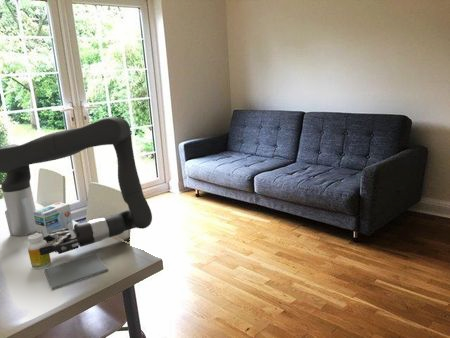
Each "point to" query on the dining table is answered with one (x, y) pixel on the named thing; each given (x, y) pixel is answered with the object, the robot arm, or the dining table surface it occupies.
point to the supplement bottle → (37, 251)
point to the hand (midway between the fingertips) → (37, 247)
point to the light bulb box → (53, 218)
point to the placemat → (74, 271)
